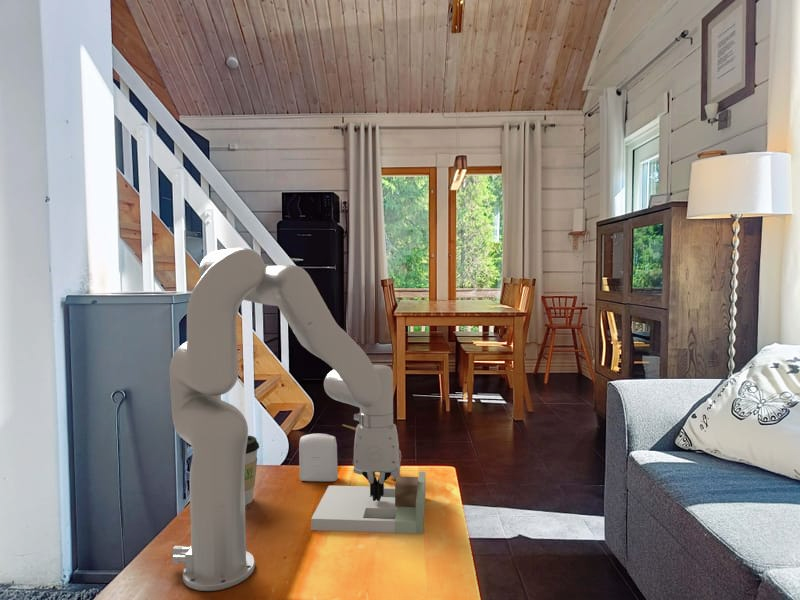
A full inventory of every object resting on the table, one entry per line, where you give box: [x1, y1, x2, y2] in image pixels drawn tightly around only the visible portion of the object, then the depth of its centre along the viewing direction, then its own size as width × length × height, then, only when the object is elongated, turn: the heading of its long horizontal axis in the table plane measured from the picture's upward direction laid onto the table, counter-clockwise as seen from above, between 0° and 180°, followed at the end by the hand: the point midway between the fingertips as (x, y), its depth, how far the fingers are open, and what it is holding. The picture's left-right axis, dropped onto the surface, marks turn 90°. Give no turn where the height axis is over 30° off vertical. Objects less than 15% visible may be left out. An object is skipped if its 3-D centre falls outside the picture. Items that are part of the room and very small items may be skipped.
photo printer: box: [298, 433, 339, 482], centre depth 141 cm, size 10×4×12 cm, turn 85°
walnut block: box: [394, 476, 419, 507], centre depth 121 cm, size 5×5×5 cm
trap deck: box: [310, 471, 426, 535], centre depth 121 cm, size 24×18×6 cm
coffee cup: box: [244, 435, 260, 506], centre depth 127 cm, size 10×10×15 cm
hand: (377, 498), depth 121 cm, fingers closed
